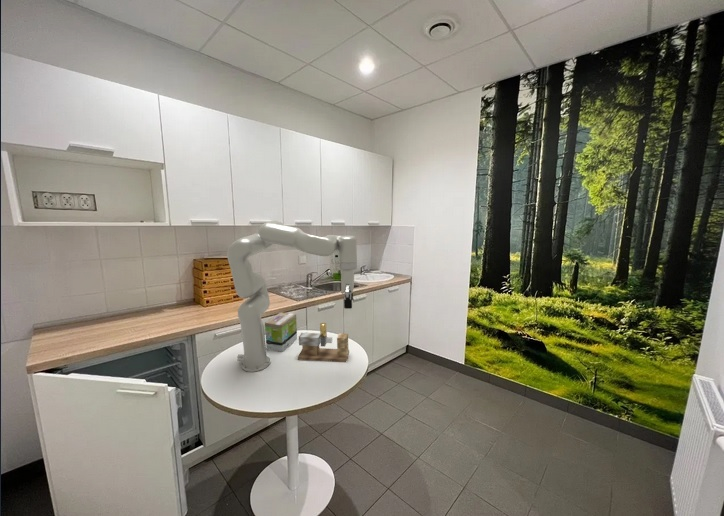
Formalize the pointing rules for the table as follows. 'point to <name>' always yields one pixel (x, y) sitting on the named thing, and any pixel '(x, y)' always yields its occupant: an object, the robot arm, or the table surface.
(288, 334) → the tea box
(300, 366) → the table surface
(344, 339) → the socket block
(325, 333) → the brass knob sliding bolt
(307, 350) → the base
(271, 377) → the table surface
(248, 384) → the table surface
